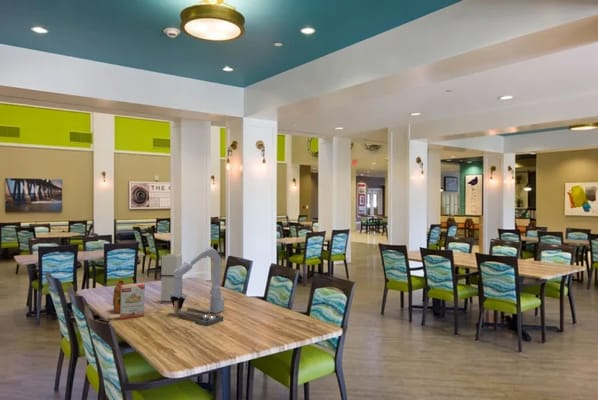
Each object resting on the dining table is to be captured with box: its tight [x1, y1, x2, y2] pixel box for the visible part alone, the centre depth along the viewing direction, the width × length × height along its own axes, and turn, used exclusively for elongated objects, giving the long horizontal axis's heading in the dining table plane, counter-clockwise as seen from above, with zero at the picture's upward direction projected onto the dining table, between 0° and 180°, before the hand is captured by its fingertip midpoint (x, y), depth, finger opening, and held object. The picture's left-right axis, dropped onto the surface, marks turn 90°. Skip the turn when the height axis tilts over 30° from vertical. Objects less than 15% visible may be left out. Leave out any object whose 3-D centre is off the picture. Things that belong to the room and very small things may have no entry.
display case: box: [160, 253, 183, 305], centre depth 306 cm, size 11×11×35 cm
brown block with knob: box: [173, 300, 182, 316], centre depth 271 cm, size 5×3×9 cm, turn 147°
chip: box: [201, 313, 211, 321], centre depth 257 cm, size 4×3×3 cm
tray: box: [194, 313, 224, 327], centre depth 256 cm, size 14×10×2 cm
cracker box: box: [119, 283, 146, 320], centre depth 266 cm, size 14×6×21 cm, turn 121°
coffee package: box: [112, 277, 126, 314], centre depth 279 cm, size 10×12×22 cm
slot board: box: [177, 307, 210, 323], centre depth 263 cm, size 10×18×4 cm, turn 57°
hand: (177, 307), depth 272 cm, fingers open, 5 cm apart
